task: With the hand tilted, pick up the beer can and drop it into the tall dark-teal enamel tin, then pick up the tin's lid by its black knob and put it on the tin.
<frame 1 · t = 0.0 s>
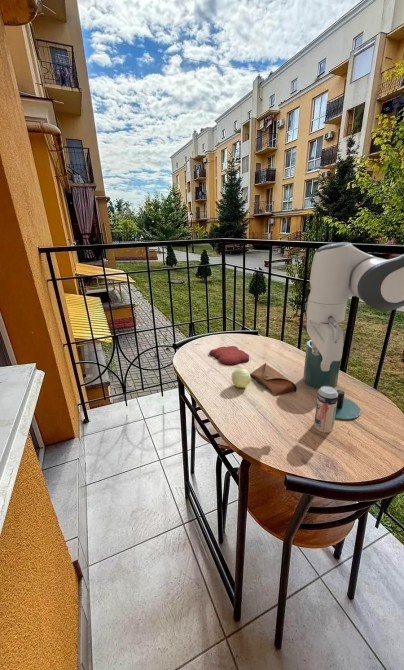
hand: (319, 361, 74), 18 cm above the table, tool pointing down, fingers open, 8 cm apart
red cloth: (229, 356, 122), on the table
lid: (337, 407, 83), point 1 cm above the table
tin: (319, 382, 98), on the table
beer can: (323, 428, 76), on the table
sunglasses case: (270, 383, 99), on the table
tennis ball: (240, 387, 98), on the table
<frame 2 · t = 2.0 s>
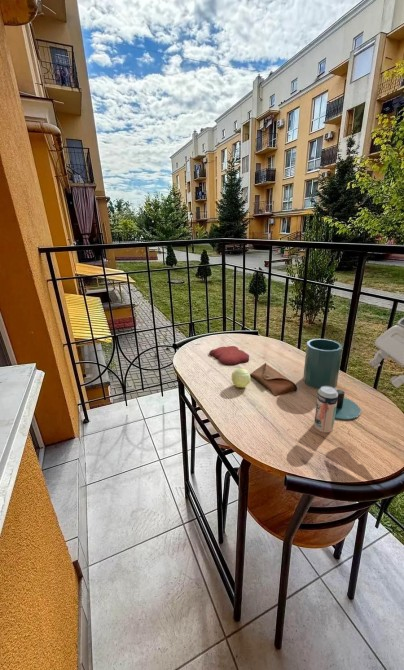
hand: (381, 374, 70), 16 cm above the table, tool tilted 45°, fingers open, 8 cm apart
nothing on the table moved.
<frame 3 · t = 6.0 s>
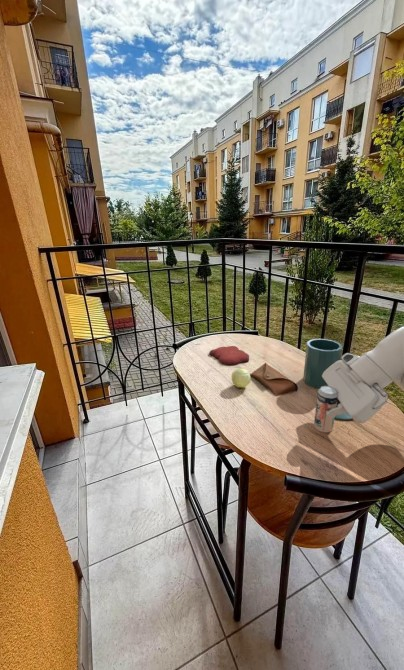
hand: (323, 408, 74), 6 cm above the table, tool tilted 45°, fingers closed on beer can, 5 cm apart
beer can: (323, 428, 76), on the table, touching gripper
everything else where it was.
when the fingers open (18 cm above the table, at t = 15.3 s): beer can drops 11 cm, resting on tin.
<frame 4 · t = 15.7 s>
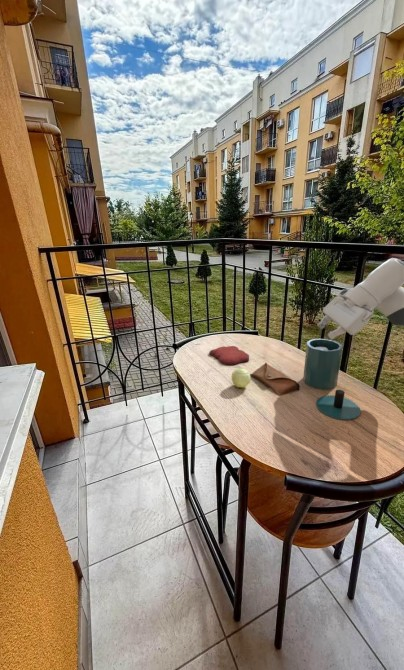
hand: (323, 332, 91), 19 cm above the table, tool tilted 45°, fingers open, 8 cm apart
beer can: (320, 381, 98), point 1 cm above the table, touching tin
everything else where it was.
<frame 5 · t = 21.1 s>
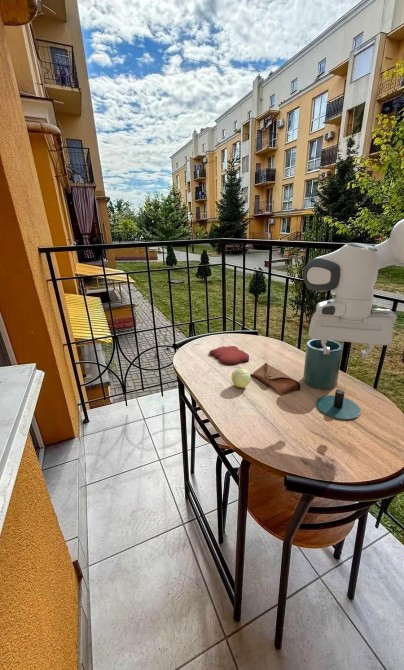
hand: (344, 355, 78), 17 cm above the table, tool pointing down, fingers open, 8 cm apart
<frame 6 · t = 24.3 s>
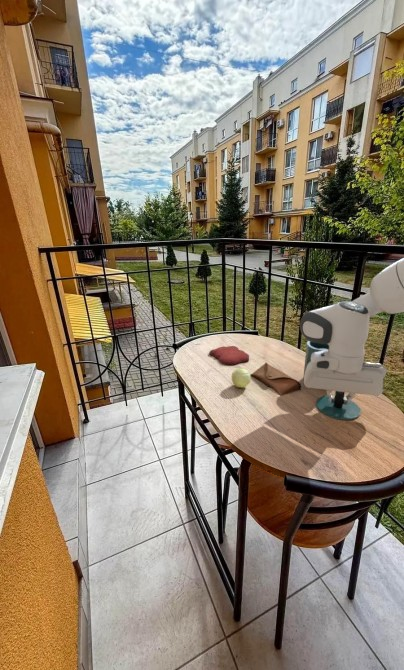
hand: (338, 402, 83), 2 cm above the table, tool pointing down, fingers closed on lid, 2 cm apart
lid: (337, 407, 83), point 1 cm above the table, touching gripper
when the fingers open (16 cm above the table, at t = 30.6 s): lid stays where it is, resting on tin.
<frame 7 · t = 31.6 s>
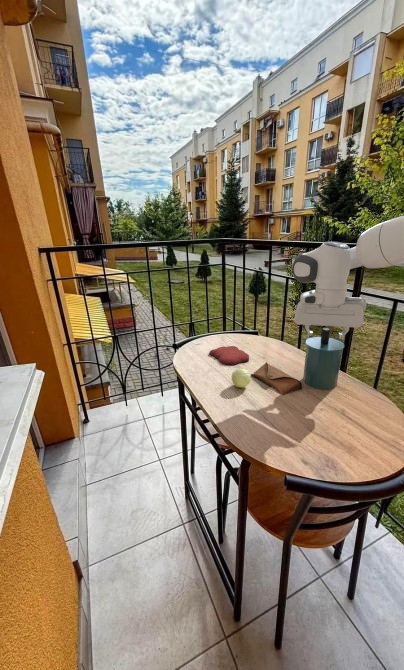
hand: (325, 337, 92), 17 cm above the table, tool pointing down, fingers open, 8 cm apart
lid: (324, 344, 93), point 14 cm above the table, touching tin
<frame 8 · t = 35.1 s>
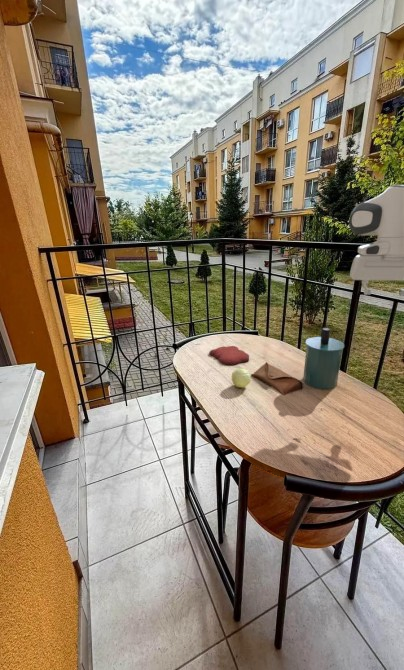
hand: (384, 295, 85), 31 cm above the table, tool pointing down, fingers open, 8 cm apart
at the end: beer can inside the target area in the tin (0.2 cm from its centre), point 0.3 cm above the tin's base; lid 0.0 cm off-centre on the tin, point 14.5 cm above the tin's base; lid tilted 0° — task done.
